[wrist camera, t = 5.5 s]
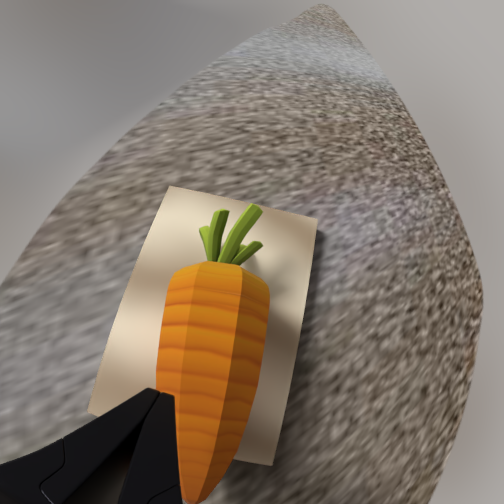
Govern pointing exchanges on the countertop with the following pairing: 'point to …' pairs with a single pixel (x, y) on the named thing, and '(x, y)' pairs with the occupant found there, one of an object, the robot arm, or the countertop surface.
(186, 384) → the carrot
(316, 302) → the countertop surface
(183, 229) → the cutting board
